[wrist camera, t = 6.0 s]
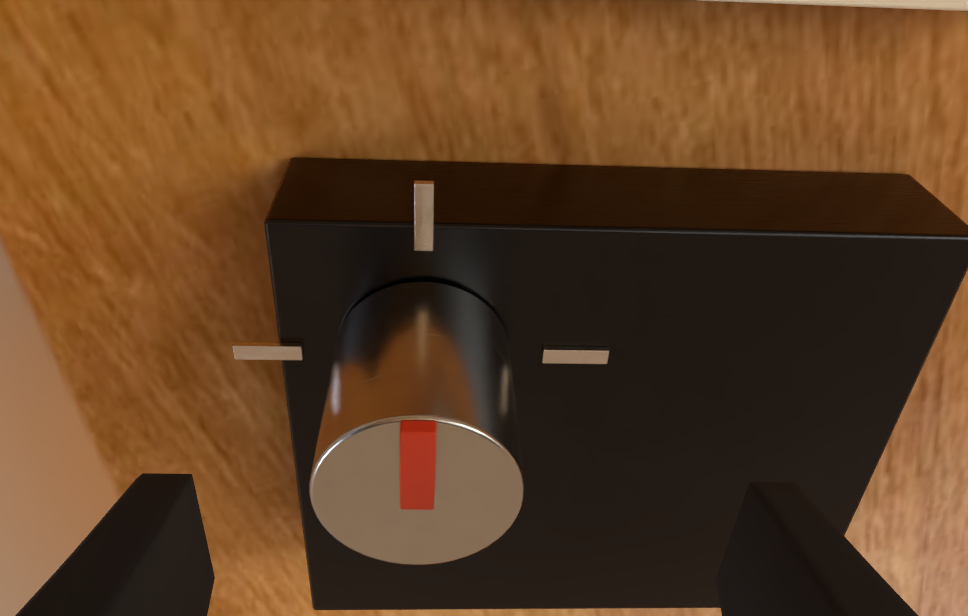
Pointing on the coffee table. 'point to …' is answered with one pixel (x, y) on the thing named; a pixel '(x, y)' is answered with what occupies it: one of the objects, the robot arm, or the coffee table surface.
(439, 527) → the stove knob
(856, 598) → the robot arm
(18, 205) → the coffee table surface
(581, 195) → the stove panel
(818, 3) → the igniter
